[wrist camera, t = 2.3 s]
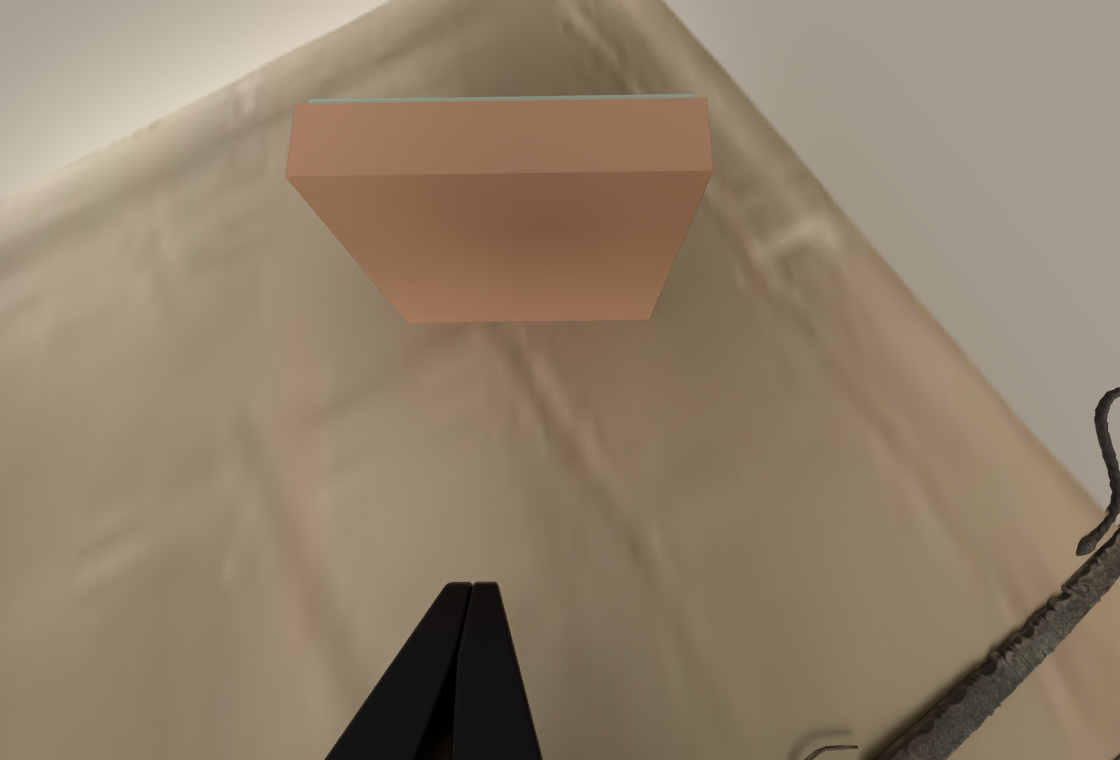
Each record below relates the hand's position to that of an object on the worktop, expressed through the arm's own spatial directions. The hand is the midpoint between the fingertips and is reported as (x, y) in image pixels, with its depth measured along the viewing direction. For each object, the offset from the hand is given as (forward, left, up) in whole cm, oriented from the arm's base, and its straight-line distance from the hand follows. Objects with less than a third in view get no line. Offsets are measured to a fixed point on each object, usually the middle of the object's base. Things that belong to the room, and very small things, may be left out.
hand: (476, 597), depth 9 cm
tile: (+10, -3, -11) cm, 15 cm away
